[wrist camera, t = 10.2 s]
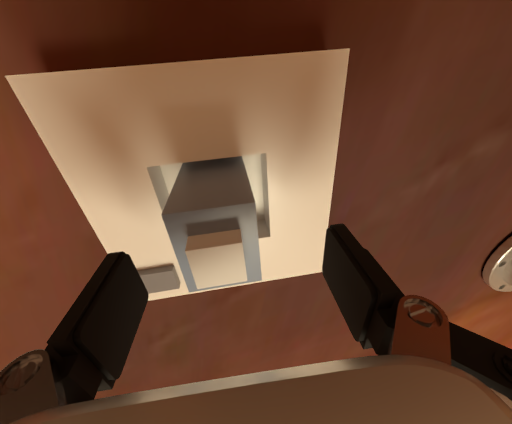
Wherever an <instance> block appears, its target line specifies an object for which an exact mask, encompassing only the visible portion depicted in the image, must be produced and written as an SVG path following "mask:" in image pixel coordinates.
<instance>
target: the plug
mask: <svg viewBox="0 0 512 424" xmlns="http://www.w3.org/2000/svg"><path fill="white" fill-rule="evenodd" d="M161 216H162V219H163V221H164V224H165V227H166V230H167V233H168V235H169V238H170V241H171V244H172V246H173V249H174V252H175V255H176V258H177V260H178V263H179V266H180V269H181V272H182V274H183V277H184V280H185V283H186V285H187V288H188V291H189V292H195V291H201V290H207V289H213V288H219V287H226V286H232V285H238V284H244V283H250V282H256V281H262V274H261V263H260V251H259V239H258V227H257V216H256V204H255V199H254V196H253V192H252V189H251V186H250V182H249V179H248V175H247V172H246V169H245V165H244V162H243V158H242V156H237V157H228V158H220V159H211V160H203V161H194V162H186V163H183V164H182V166H181V168H180V171H179V173H178V176H177V178H176V180H175V183H174V185H173V188H172V190H171V193H170V195H169V197H168V200H167V202H166V205H165V207H164V209H163V212H162V214H161Z"/></svg>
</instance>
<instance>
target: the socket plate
mask: <svg viewBox="0 0 512 424" xmlns="http://www.w3.org/2000/svg"><path fill="white" fill-rule="evenodd" d="M349 52H350V48H347V49H334V50H322V51H309V52H297V53H284V54H272V55H259V56H247V57H234V58H222V59H209V60H197V61H184V62H172V63H159V64H147V65H134V66H122V67H109V68H97V69H84V70H72V71H59V72H47V73H34V74H22V75H9V76H5V77H6V79H7V80H8V82H9V84H10V86H11V87H12V89H13V91H14V93H15V94H16V96H17V98H18V100H19V101H20V103H21V105H22V106H23V108H24V110H25V112H26V113H27V115H28V117H29V119H30V120H31V122H32V124H33V125H34V127H35V129H36V131H37V132H38V134H39V136H40V138H41V139H42V141H43V143H44V144H45V146H46V148H47V150H48V151H49V153H50V155H51V157H52V158H53V160H54V162H55V164H56V165H57V167H58V169H59V170H60V172H61V174H62V176H63V177H64V179H65V181H66V183H67V184H68V186H69V188H70V189H71V191H72V193H73V195H74V196H75V198H76V200H77V202H78V203H79V205H80V207H81V208H82V210H83V212H84V214H85V215H86V217H87V219H88V221H89V222H90V224H91V226H92V228H93V229H94V231H95V233H96V234H97V236H98V238H99V240H100V241H101V243H102V245H103V247H104V248H105V250H106V252H107V253H108V254H109V253H114V252H121V251H123V252H125V253H126V254H129V255H130V257H131V259H132V261H133V263H134V265H135V267H136V269H137V271H138V273H139V275H140V277H141V279H142V281H143V283H144V285H145V287H146V289H147V291H148V296H149V297H148V301H150V300H156V299H162V298H168V297H174V296H180V295H186V294H192V293H198V292H204V291H210V290H216V289H222V288H228V287H234V286H240V285H246V284H252V283H258V282H264V281H270V280H276V279H282V278H288V277H294V276H300V275H306V274H312V273H318V272H322V264H323V255H324V247H325V238H326V230H327V229H328V222H329V214H330V206H331V197H332V189H333V181H334V173H335V165H336V157H337V149H338V141H339V133H340V125H341V116H342V108H343V100H344V92H345V84H346V76H347V68H348V60H349ZM237 156H242V158H243V162H244V165H245V169H246V172H247V175H248V179H249V182H250V186H251V189H252V192H253V196H254V199H255V204H256V216H257V227H258V239H259V251H260V263H261V274H262V281H256V282H250V283H244V284H238V285H232V286H226V287H219V288H213V289H207V290H201V291H195V292H189V291H188V288H187V285H186V283H185V280H184V277H183V274H182V272H181V269H180V266H179V263H178V260H177V258H176V255H175V252H174V249H173V246H172V244H171V241H170V238H169V235H168V233H167V230H166V227H165V224H164V221H163V219H162V216H161V214H162V212H163V209H164V207H165V205H166V202H167V200H168V197H169V195H170V193H171V190H172V188H173V185H174V183H175V180H176V178H177V176H178V173H179V171H180V168H181V166H182V164H183V163H186V162H194V161H203V160H211V159H220V158H228V157H237Z"/></svg>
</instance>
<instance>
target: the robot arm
mask: <svg viewBox="0 0 512 424" xmlns="http://www.w3.org/2000/svg"><path fill="white" fill-rule="evenodd" d="M322 272H323V275H324V278H325V280H326V282H327V284H328V286H329V288H330V290H331V292H332V294H333V296H334V298H335V300H336V302H337V304H338V306H339V308H340V311H341V313H342V315H343V317H344V319H345V321H346V323H347V325H348V327H349V329H350V331H351V333H352V335H353V337H354V339H355V340H356V341H357V342H358V341H360V343H361V345H362V347H363V349H368V348H373V349H374V351H375V353H376V354H377V355H378V356H367V357H359V358H352V359H345V360H337V361H330V362H323V363H317V364H310V365H304V366H297V367H291V368H284V369H278V370H271V371H265V372H258V373H252V374H246V375H240V376H233V377H227V378H221V379H215V380H208V381H202V382H196V383H190V384H184V385H178V386H172V387H165V388H159V389H153V390H147V391H141V392H135V393H129V394H123V395H117V396H112V397H106V398H101V399H95V400H94V398H95V395H96V393H97V391H103V390H110V389H112V388H113V386H114V383H115V380H116V379H118V378H119V377H120V375H121V373H122V370H123V367H124V365H125V362H126V359H127V356H128V354H129V351H130V348H131V345H132V343H133V340H134V337H135V334H136V332H137V329H138V326H139V323H140V321H141V318H142V315H143V312H144V310H145V307H146V304H147V301H148V297H149V296H148V291H147V289H146V287H145V285H144V283H143V281H142V279H141V277H140V275H139V273H138V271H137V269H136V267H135V265H134V263H133V261H132V259H131V257H130V255H129V254H126V253H125V252H123V251H121V252H114V253H109V254H108V255H107V256H106V257H105V259H104V260H103V262H102V263H101V264H100V266H99V267H98V269H97V270H96V272H95V273H94V275H93V276H92V277H91V279H90V280H89V282H88V283H87V285H86V286H85V288H84V289H83V291H82V292H81V293H80V295H79V296H78V298H77V299H76V301H75V302H74V304H73V305H72V306H71V308H70V309H69V311H68V312H67V314H66V315H65V317H64V318H63V320H62V321H61V322H60V324H59V325H58V327H57V328H56V330H55V331H54V333H53V334H52V335H51V337H50V338H49V340H48V341H47V343H48V346H47V347H46V349H45V350H42V349H38V350H33V351H30V352H27V353H25V354H23V355H21V356H19V357H18V358H16V359H15V360H13V361H12V362H11V363H9V364H8V365H7V366H6V367H5V368H4V369H3V370H2V371H1V372H0V424H512V349H510V348H507V347H505V346H503V345H501V344H498V343H496V342H494V341H491V340H489V339H487V338H485V337H482V336H480V335H478V334H476V333H473V332H471V331H469V330H466V329H464V328H462V327H460V326H457V325H455V324H453V323H450V322H449V321H448V317H447V315H446V314H445V312H444V311H443V310H442V309H441V308H440V307H439V306H438V305H437V304H435V303H434V302H432V301H431V300H429V299H426V298H424V297H421V296H417V295H407V296H405V295H404V294H403V293H402V292H401V291H400V289H399V288H398V287H397V286H396V284H395V283H394V282H393V281H392V280H391V278H390V277H389V276H388V275H387V273H386V272H385V271H384V270H383V269H382V267H381V266H380V265H379V264H378V262H377V261H376V260H375V259H374V257H373V256H372V255H371V254H370V253H369V251H368V250H366V249H364V248H363V247H362V246H361V245H360V243H359V242H358V241H357V240H356V239H355V237H354V236H353V235H352V234H351V232H350V231H349V230H348V229H347V227H346V226H345V225H344V224H335V225H331V226H330V228H328V229H327V230H326V238H325V247H324V255H323V264H322ZM483 280H484V282H485V283H486V284H488V285H489V286H490V287H491V288H493V289H494V290H497V291H503V292H506V291H512V236H511V237H509V238H508V239H507V240H506V241H505V242H503V243H502V244H501V245H500V246H499V247H498V248H497V249H496V250H495V251H494V253H493V254H492V255H491V256H490V258H489V259H488V261H487V262H486V264H485V266H484V269H483Z"/></svg>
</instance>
